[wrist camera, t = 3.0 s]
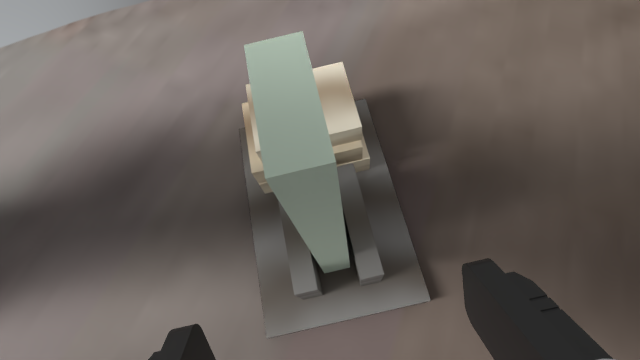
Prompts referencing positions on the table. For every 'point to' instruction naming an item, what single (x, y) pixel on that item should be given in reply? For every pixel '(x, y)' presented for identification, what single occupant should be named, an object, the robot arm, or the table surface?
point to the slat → (297, 145)
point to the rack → (359, 218)
